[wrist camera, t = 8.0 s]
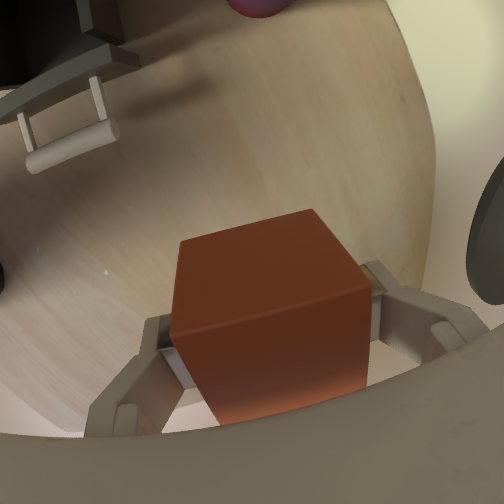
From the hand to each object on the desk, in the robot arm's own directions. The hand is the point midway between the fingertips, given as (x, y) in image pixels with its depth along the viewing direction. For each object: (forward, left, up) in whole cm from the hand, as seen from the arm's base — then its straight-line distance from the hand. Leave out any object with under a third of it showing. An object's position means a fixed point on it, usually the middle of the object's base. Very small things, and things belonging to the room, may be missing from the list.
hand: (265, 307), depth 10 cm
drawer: (+10, -14, -17) cm, 24 cm away
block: (0, 0, -2) cm, 2 cm away
